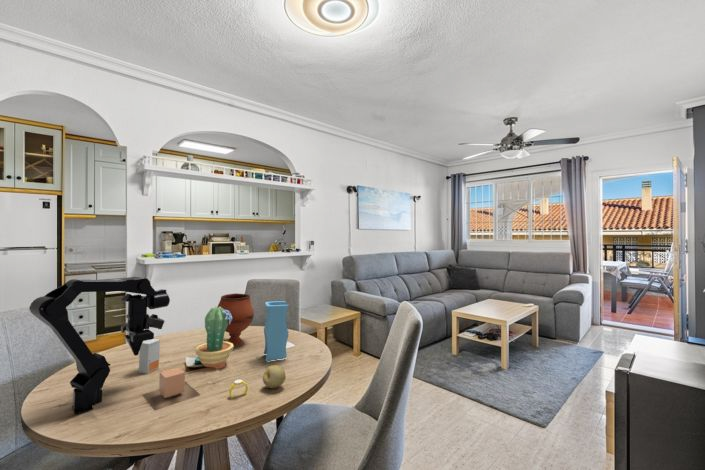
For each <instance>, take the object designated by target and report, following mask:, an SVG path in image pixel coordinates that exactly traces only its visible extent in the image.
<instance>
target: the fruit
mask: <svg viewBox="0 0 705 470" xmlns="http://www.w3.org/2000/svg"><path fill="white" fill-rule="evenodd" d="M262 375H263V376H262V382H263V384H264V385H265V386H266V387H267V388H270V389H277V388H279V387H281V386H282V385H283V384H284V382H285V380H286V376H287V375H286V372H285V370H284V369H283V367H281V366H280V365H270V366H268V367H267V368H266V369H265V370H264V372H263V374H262Z"/></svg>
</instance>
